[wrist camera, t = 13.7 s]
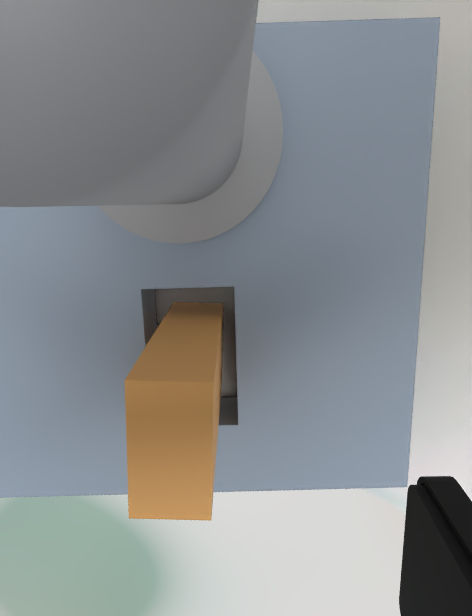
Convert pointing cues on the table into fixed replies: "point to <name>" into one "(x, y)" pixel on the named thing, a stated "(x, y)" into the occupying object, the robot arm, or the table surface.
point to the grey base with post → (211, 232)
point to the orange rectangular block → (175, 415)
